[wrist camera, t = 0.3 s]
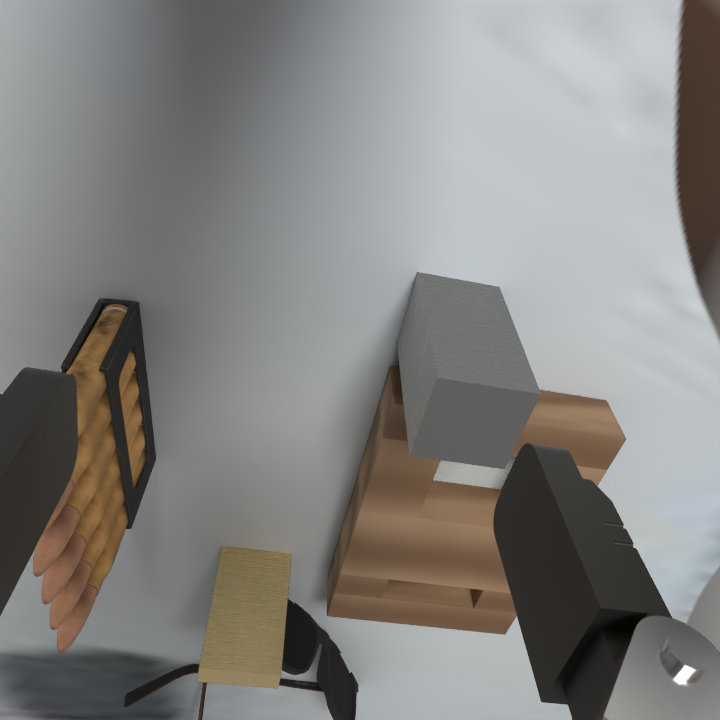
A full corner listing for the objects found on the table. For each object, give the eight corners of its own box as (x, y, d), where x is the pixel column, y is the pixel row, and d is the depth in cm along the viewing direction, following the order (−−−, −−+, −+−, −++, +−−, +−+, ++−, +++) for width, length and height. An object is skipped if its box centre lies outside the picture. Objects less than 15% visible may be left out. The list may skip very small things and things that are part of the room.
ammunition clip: (156, 460, 36) (86, 665, 27) (123, 458, 36) (41, 663, 27) (138, 300, 30) (39, 492, 20) (98, 297, 30) (-20, 488, 20)
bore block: (389, 366, 33) (393, 403, 30) (606, 400, 34) (626, 439, 32) (328, 575, 43) (326, 615, 40) (496, 594, 45) (505, 634, 42)
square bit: (417, 272, 29) (437, 377, 23) (499, 286, 30) (540, 393, 24) (396, 341, 32) (409, 455, 25) (473, 354, 32) (504, 469, 26)
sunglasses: (97, 615, 46) (73, 684, 42) (272, 562, 43) (265, 632, 39) (219, 715, 55) (209, 779, 51) (372, 678, 52) (374, 744, 48)
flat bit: (222, 546, 41) (198, 667, 35) (291, 554, 42) (281, 675, 35) (220, 560, 42) (197, 681, 35) (288, 568, 42) (277, 688, 36)
